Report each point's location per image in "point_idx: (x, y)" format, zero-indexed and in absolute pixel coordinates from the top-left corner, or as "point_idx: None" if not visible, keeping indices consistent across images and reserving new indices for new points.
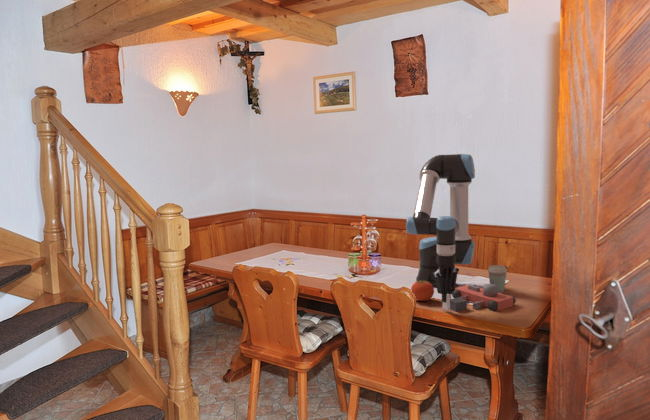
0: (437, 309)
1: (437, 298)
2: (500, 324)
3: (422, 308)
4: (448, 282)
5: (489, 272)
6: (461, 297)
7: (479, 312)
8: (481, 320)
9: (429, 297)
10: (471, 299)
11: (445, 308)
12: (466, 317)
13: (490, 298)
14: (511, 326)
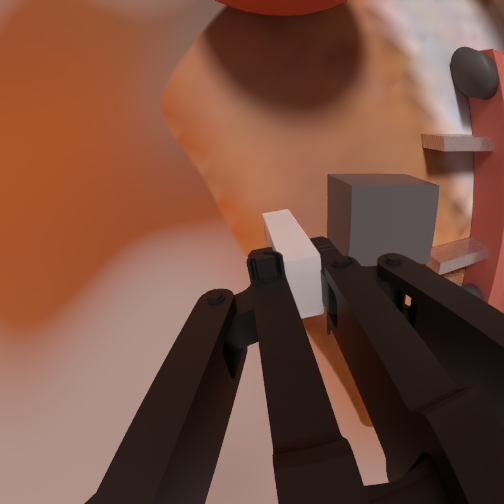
0: (252, 157)
1: (375, 3)
2: (353, 405)
3: (169, 97)
4: (366, 398)
5: None
6: (463, 149)
7: (405, 300)
8: (336, 372)
9: (286, 15)
10: (484, 173)
11: (267, 242)
12: (312, 333)
13: (497, 288)
14: (363, 417)
